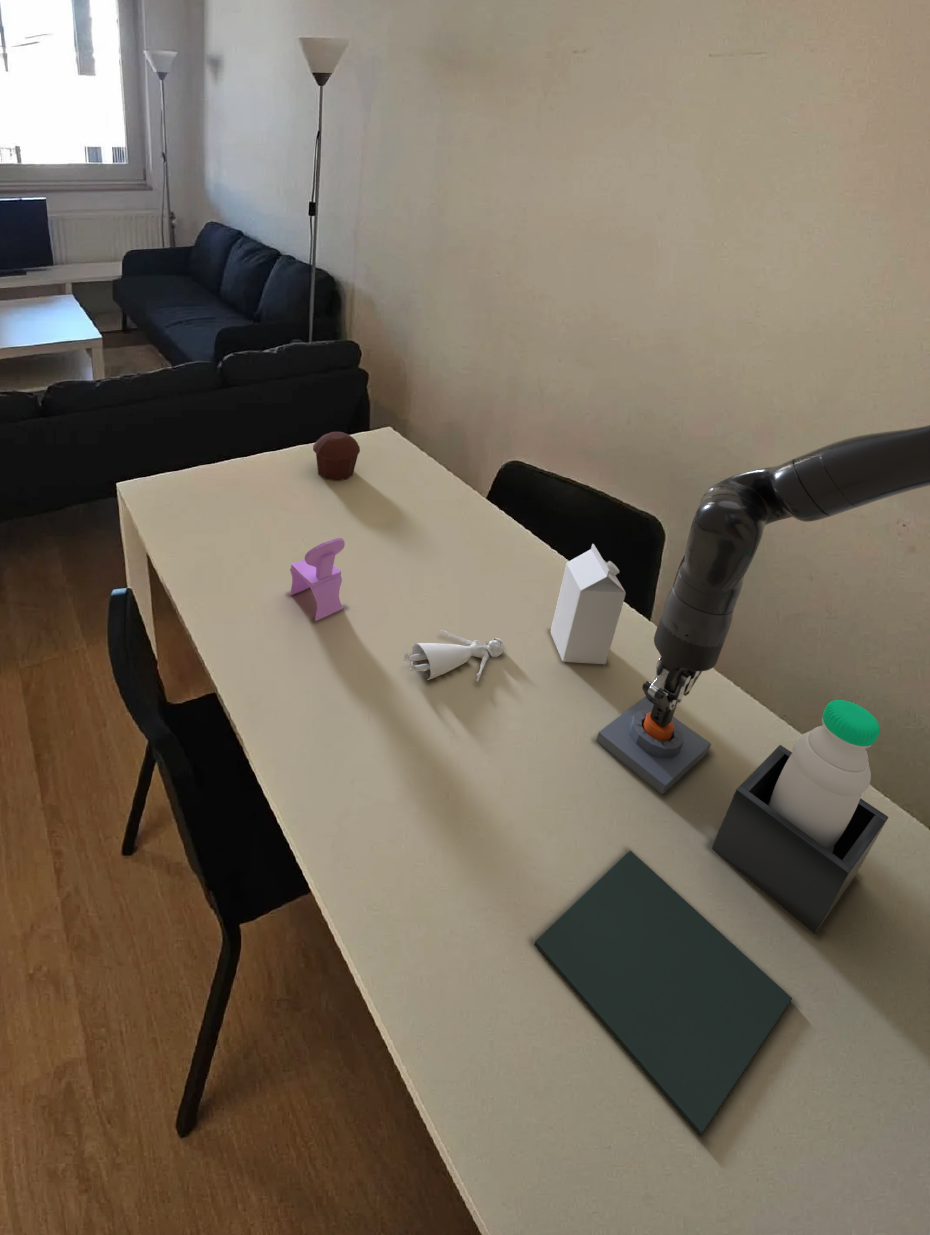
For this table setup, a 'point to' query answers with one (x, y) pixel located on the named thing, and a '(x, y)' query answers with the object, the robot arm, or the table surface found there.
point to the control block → (652, 747)
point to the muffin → (336, 455)
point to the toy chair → (320, 576)
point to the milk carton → (587, 609)
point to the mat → (665, 986)
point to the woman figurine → (451, 654)
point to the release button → (658, 729)
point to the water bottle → (827, 773)
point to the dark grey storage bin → (792, 847)
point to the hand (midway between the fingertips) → (659, 720)
